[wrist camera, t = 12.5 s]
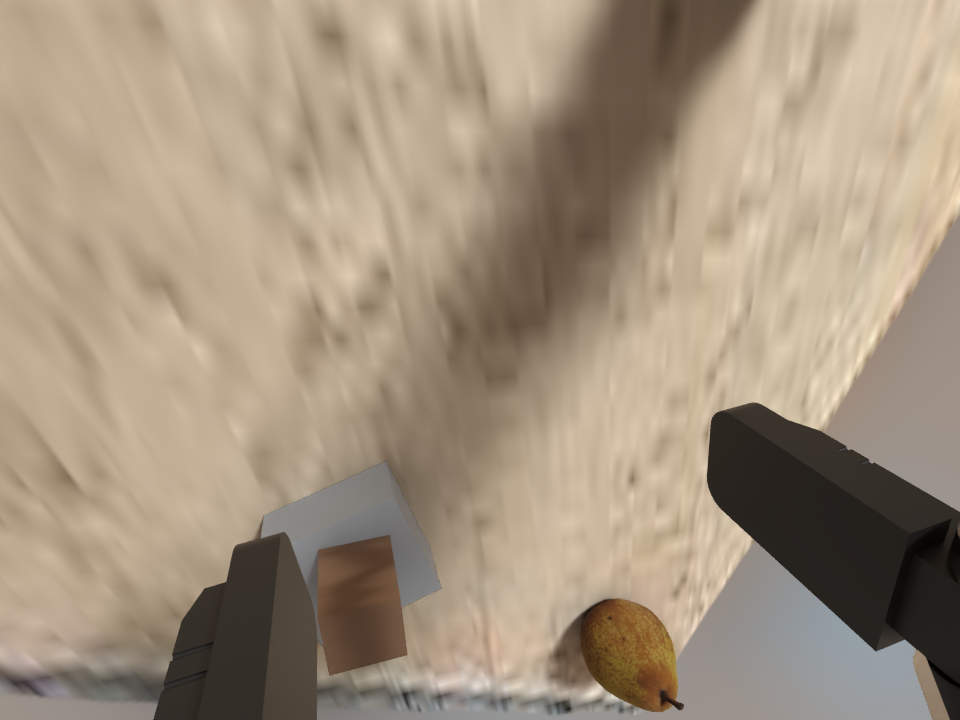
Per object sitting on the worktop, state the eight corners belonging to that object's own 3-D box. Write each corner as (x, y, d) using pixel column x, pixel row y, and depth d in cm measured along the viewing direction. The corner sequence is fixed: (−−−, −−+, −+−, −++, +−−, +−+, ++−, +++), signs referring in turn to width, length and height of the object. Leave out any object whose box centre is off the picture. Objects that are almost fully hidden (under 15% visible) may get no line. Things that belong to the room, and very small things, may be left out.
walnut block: (389, 534, 38) (400, 599, 33) (396, 586, 40) (407, 655, 35) (318, 549, 37) (317, 619, 31) (328, 601, 39) (329, 675, 33)
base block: (385, 458, 41) (393, 496, 37) (429, 544, 46) (441, 588, 41) (264, 512, 40) (257, 558, 36) (321, 595, 45) (321, 646, 40)
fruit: (606, 656, 58) (670, 772, 47) (553, 632, 54) (610, 752, 43) (659, 602, 57) (737, 708, 46) (608, 573, 53) (681, 681, 42)
